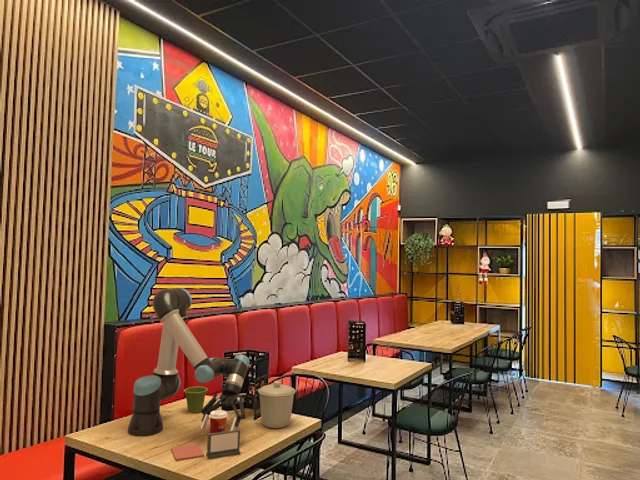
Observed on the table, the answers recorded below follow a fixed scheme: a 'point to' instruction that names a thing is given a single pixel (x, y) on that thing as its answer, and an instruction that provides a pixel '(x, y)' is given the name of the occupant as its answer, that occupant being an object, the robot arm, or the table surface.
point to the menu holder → (223, 444)
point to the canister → (276, 404)
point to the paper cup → (218, 421)
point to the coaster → (187, 452)
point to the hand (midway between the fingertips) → (216, 431)
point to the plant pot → (195, 398)
